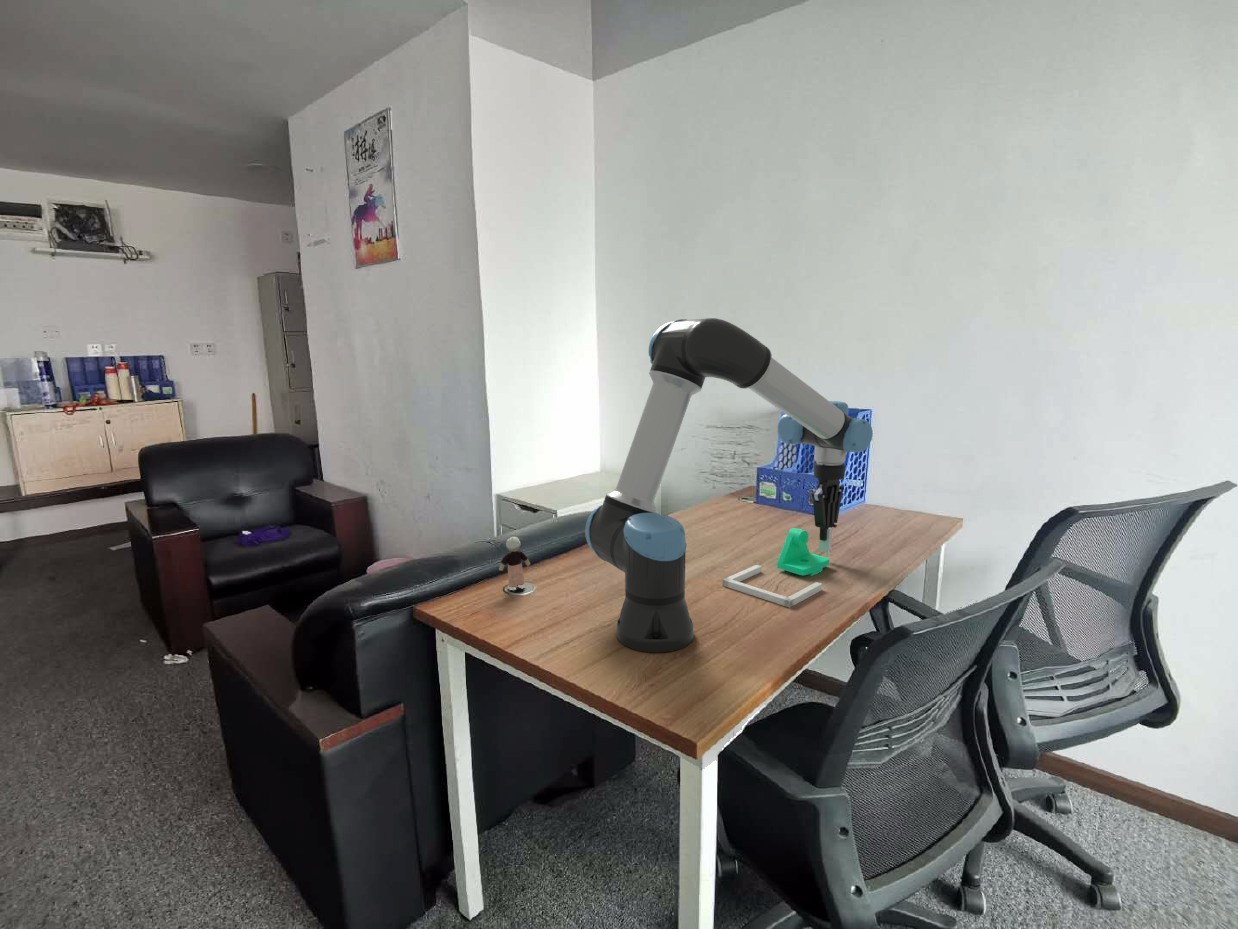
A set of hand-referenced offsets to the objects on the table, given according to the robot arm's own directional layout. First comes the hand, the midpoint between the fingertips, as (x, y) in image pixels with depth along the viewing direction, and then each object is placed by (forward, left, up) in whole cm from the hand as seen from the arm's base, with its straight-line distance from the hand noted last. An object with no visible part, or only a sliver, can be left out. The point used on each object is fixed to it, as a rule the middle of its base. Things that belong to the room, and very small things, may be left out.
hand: (824, 551), depth 163 cm
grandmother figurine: (-68, +43, -3) cm, 80 cm away
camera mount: (-9, +1, -3) cm, 9 cm away
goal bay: (-25, 0, -3) cm, 25 cm away
